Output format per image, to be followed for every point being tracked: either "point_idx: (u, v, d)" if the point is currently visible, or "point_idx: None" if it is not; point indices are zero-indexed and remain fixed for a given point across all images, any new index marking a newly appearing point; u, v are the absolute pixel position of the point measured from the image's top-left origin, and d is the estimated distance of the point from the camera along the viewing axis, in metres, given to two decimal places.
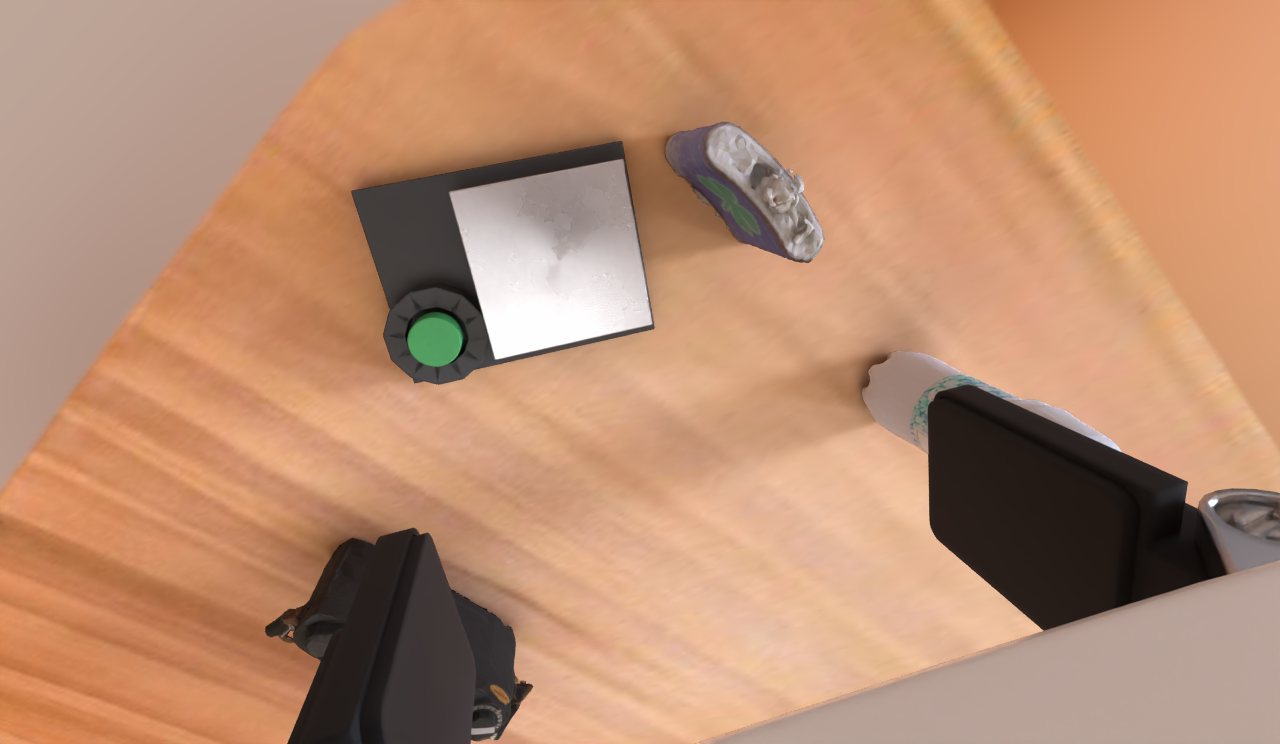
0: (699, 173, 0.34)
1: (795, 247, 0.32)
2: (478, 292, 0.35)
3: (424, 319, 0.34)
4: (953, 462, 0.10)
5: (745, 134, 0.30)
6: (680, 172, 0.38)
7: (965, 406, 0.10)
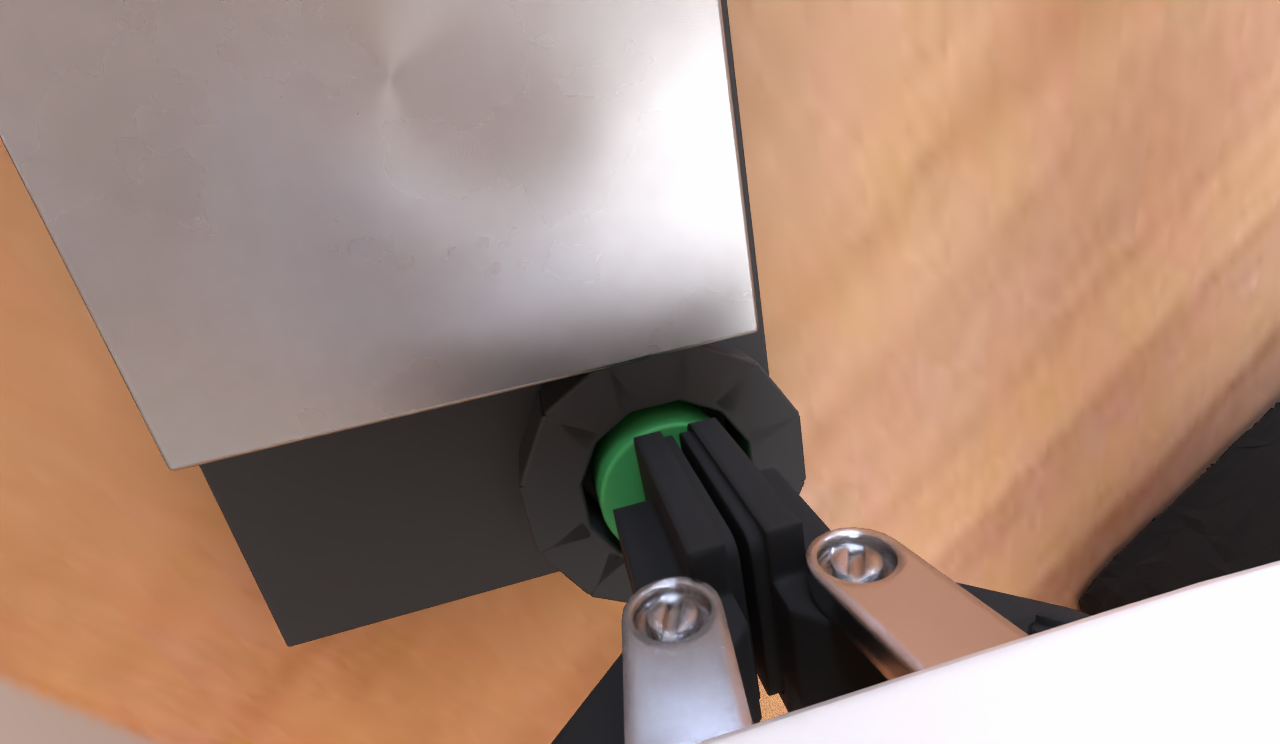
0: None
1: None
2: (525, 380, 0.10)
3: (607, 518, 0.12)
4: None
5: None
6: None
7: None
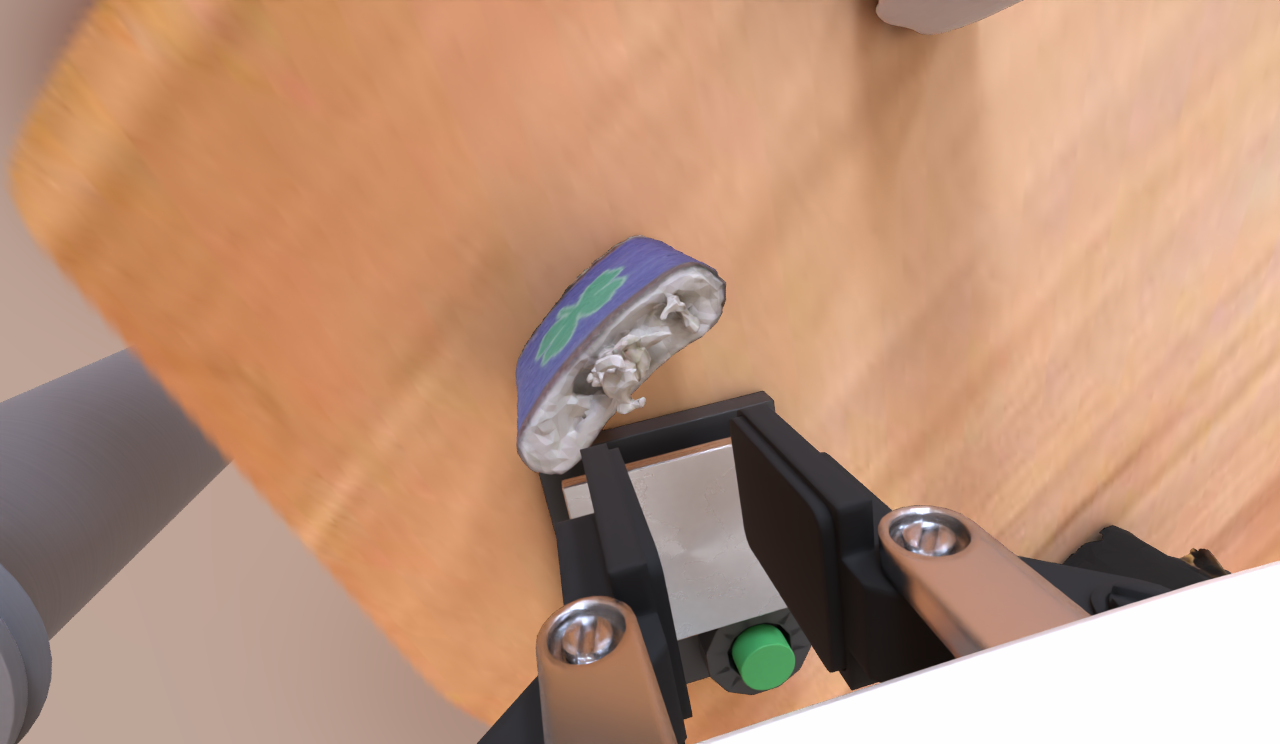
0: None
1: (702, 318, 0.20)
2: (717, 627, 0.30)
3: (743, 678, 0.31)
4: (746, 476, 0.11)
5: (532, 420, 0.20)
6: None
7: (753, 424, 0.11)
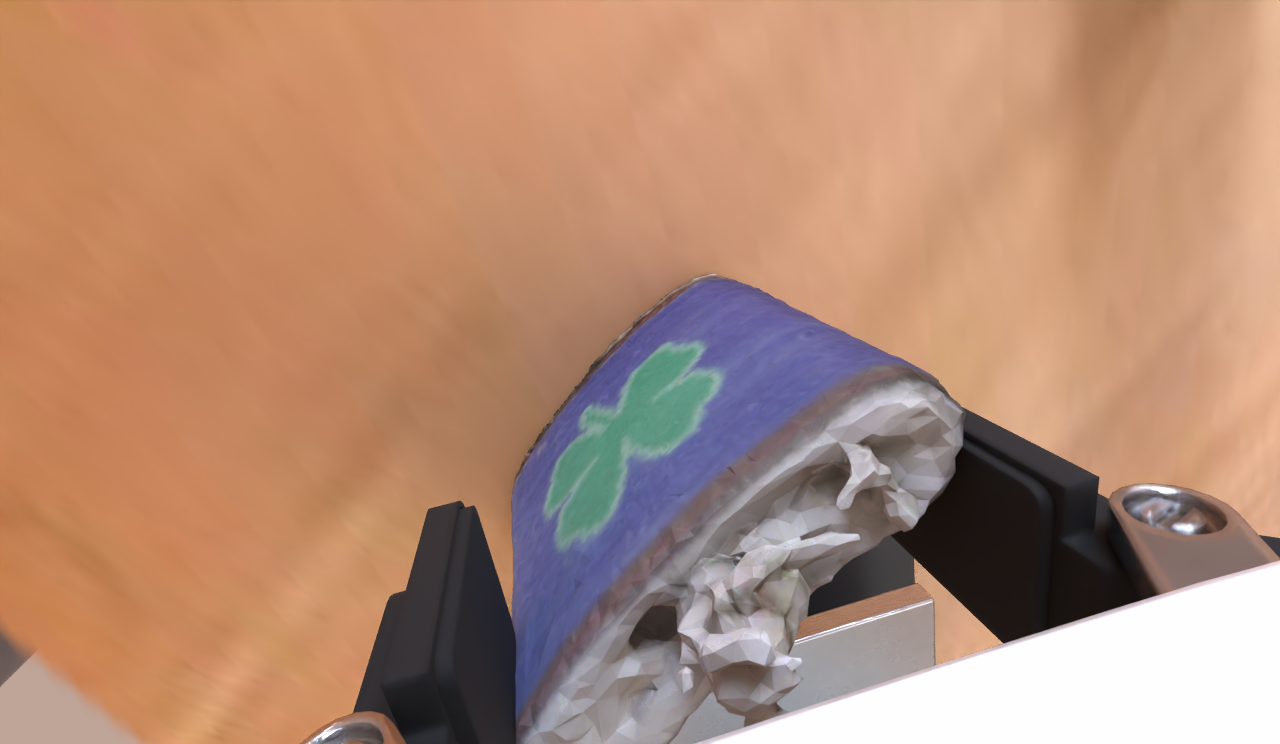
0: None
1: (916, 487, 0.09)
2: None
3: None
4: None
5: (543, 718, 0.09)
6: None
7: None
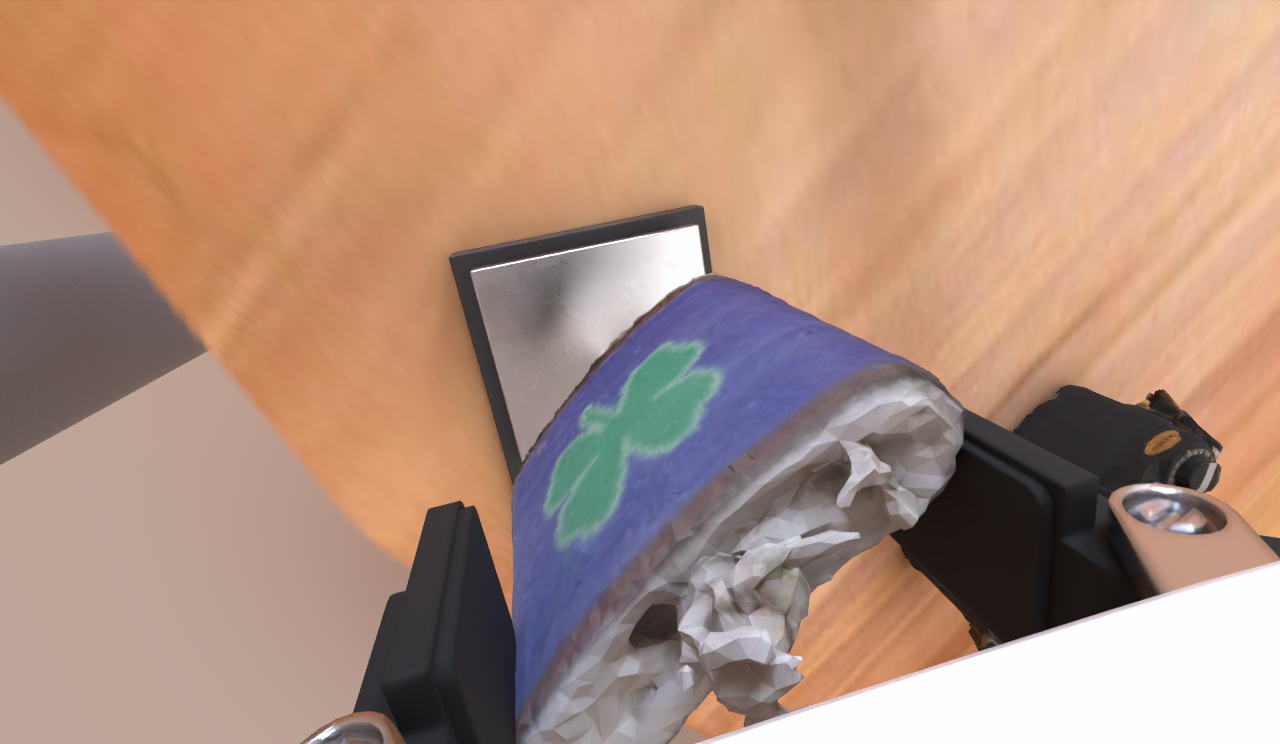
0: None
1: (916, 485, 0.09)
2: None
3: None
4: None
5: (543, 717, 0.09)
6: None
7: None
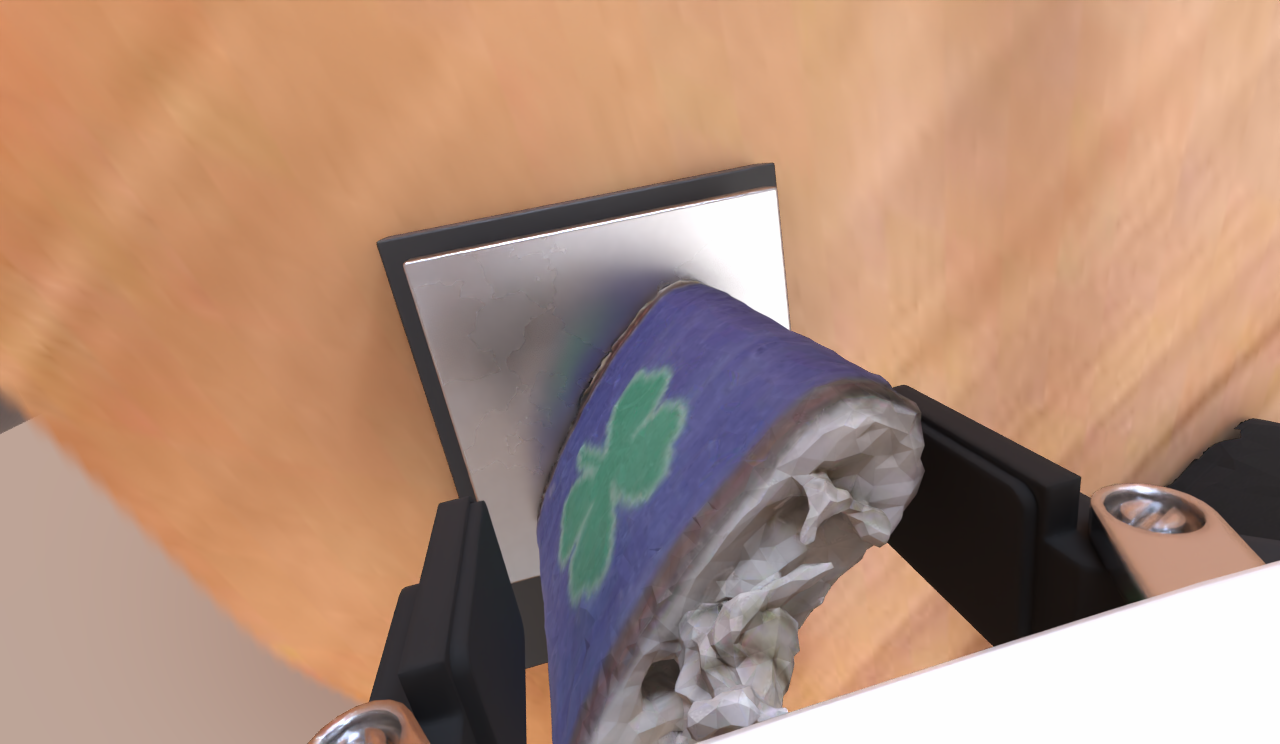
0: None
1: (886, 496, 0.09)
2: None
3: None
4: None
5: None
6: None
7: None
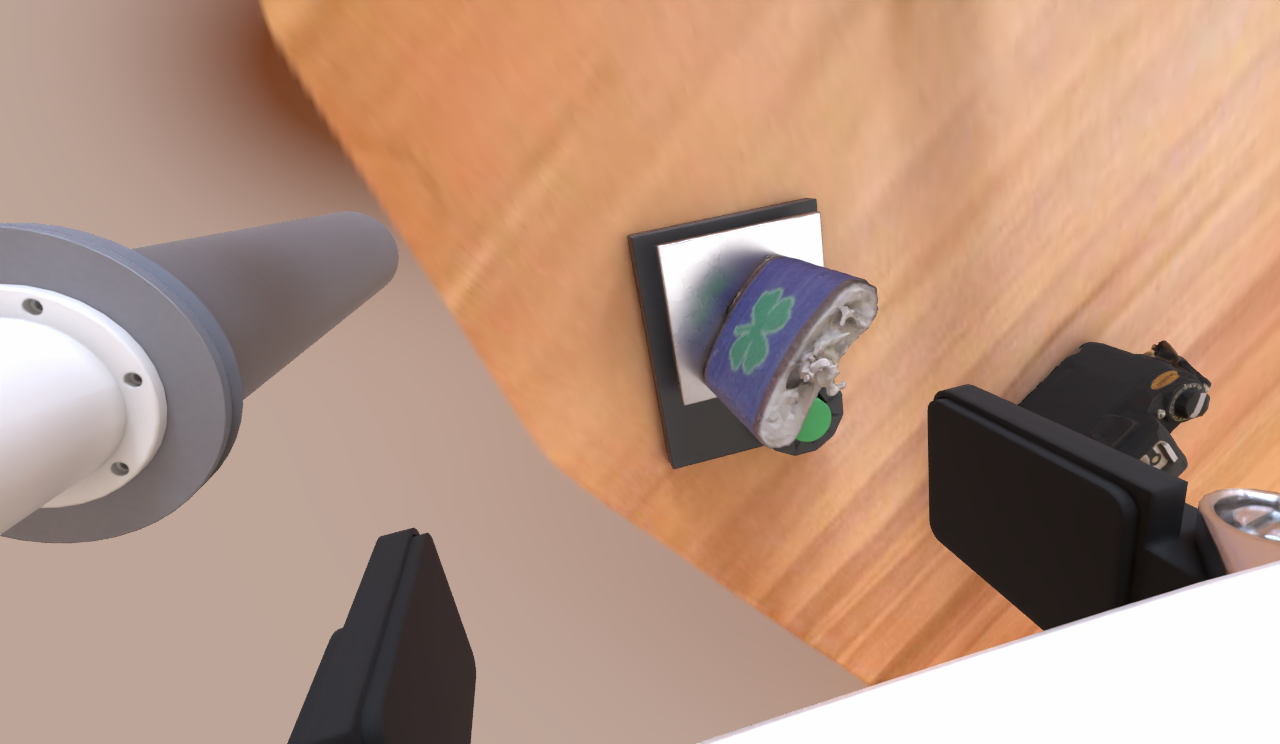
0: None
1: (865, 316, 0.28)
2: None
3: None
4: (953, 462, 0.10)
5: (764, 414, 0.28)
6: None
7: (964, 406, 0.10)
